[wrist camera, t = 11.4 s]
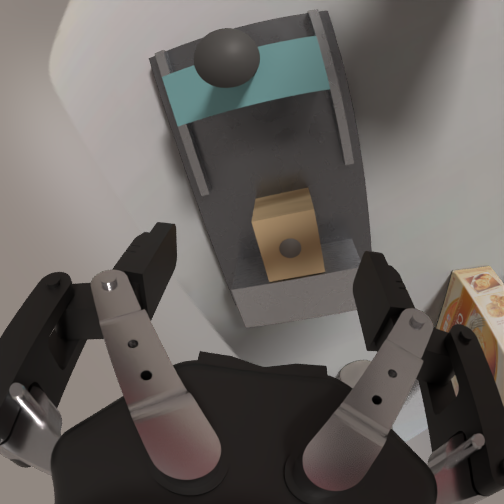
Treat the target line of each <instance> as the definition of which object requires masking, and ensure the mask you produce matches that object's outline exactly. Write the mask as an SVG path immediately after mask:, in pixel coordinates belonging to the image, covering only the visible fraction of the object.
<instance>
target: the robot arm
mask: <svg viewBox="0 0 504 504" xmlns="http://www.w3.org/2000/svg"><path fill="white" fill-rule="evenodd" d="M176 261H177V244H176V226H175V224H170V223H161V222H157V223H156V225H155V226H154V227H153V229H152V230H151V232H150V233H148V232H144V233H142V234H141V235H139V236H137V237H136V238H135V239H134V240H133V242H132V243H131V244H130V246H129V247H128V248H127V250H126V252H124V254H123V255H122V257H121V258H120V260H119V261H118V262H117V264H116V265H115V266H114V268H113V269H112V270H106V271H102V272H100V273H99V274H97V275H96V276H94V278H93V279H92V281H91V283H80V284H72V281H71V278H70V276H69V275H68V274H66V273H63V272H55V273H51V274H49V275H47V276H45V277H44V278H42V279H41V281H40V282H39V283H38V284H37V286H36V287H35V288H34V290H33V291H32V292H31V294H30V295H29V296H28V298H27V299H26V301H25V302H24V303H23V305H22V306H21V308H20V309H19V310H18V312H17V313H16V315H15V316H14V318H13V319H12V321H11V322H10V324H9V325H8V327H7V328H6V330H5V331H4V333H3V335H2V336H1V338H0V454H1V455H3V456H4V457H6V458H8V459H10V460H11V461H13V462H14V463H16V464H17V465H19V466H21V467H31V466H32V467H34V468H36V469H38V470H40V471H42V472H45V473H47V474H49V475H51V476H52V480H53V485H54V492H55V493H54V494H55V504H474V503H476V502H478V501H480V500H482V499H484V498H486V497H488V496H490V495H492V494H494V493H496V492H498V491H500V490H502V489H504V406H503V403H502V400H501V397H500V394H499V391H498V388H497V385H496V383H495V380H494V377H493V375H492V372H491V369H490V367H489V364H488V362H487V359H486V357H485V355H484V352H483V350H482V348H481V345H480V343H479V341H478V339H477V337H476V335H475V333H474V332H473V331H472V330H471V329H470V328H468V327H467V326H464V325H461V324H455V325H453V326H452V328H451V329H450V331H449V332H445V331H442V330H439V329H436V328H433V323H432V321H431V319H430V318H429V317H428V316H427V315H426V314H425V313H424V312H422V311H420V310H418V309H415V307H414V305H413V302H412V300H411V298H410V296H409V294H408V291H407V290H406V287H405V285H404V283H403V281H402V279H401V277H400V275H399V273H398V272H397V271H396V270H395V269H394V268H393V267H392V266H389V265H388V263H387V261H386V259H385V257H384V255H383V254H382V253H378V252H372V251H365V252H364V254H363V256H362V259H361V262H360V265H359V267H358V270H357V273H356V276H355V278H354V282H353V296H354V300H355V304H356V307H357V311H358V315H359V319H360V323H361V327H362V332H363V336H364V340H365V344H366V349H367V351H377V354H376V355H375V357H374V358H373V360H372V361H371V363H370V364H369V366H368V367H367V369H366V370H365V372H364V373H363V375H362V376H361V378H360V379H359V380H358V382H357V383H356V385H355V386H354V387H353V389H352V388H351V387H350V386H349V385H347V384H346V383H344V382H342V381H340V380H338V379H336V378H334V377H331V376H328V375H327V367H326V366H320V365H307V364H289V365H281V366H272V367H262V366H258V365H255V364H252V363H249V362H246V361H244V360H241V359H238V358H235V357H232V356H227V355H220V354H214V353H208V352H201V351H200V353H199V357H198V360H193V361H185V362H182V363H178V364H175V365H172V363H171V361H170V359H169V357H168V355H167V353H166V351H165V349H164V347H163V345H162V344H161V342H160V340H159V338H158V335H157V333H156V331H155V329H154V327H153V325H152V323H151V320H152V317H153V315H154V313H155V311H156V308H157V306H158V304H159V302H160V300H161V297H162V295H163V293H164V291H165V289H166V286H167V284H168V282H169V280H170V278H171V276H172V274H173V272H174V269H175V266H176ZM53 329H54V330H53ZM52 331H53V332H52ZM50 334H51V335H50ZM49 336H50V337H49ZM87 339H104V340H105V344H106V347H107V350H108V353H109V356H110V359H111V362H112V365H113V368H114V371H115V374H116V377H117V380H118V382H119V385H120V388H121V390H122V393H123V397H121V398H119V399H118V400H116V401H114V402H113V403H111V404H110V405H108V406H106V407H105V408H103V409H102V410H100V411H98V412H97V413H95V414H93V415H92V416H90V417H89V418H87V419H85V420H84V421H82V422H80V423H79V424H77V425H75V426H74V427H72V428H70V429H69V430H67V431H66V432H65V433H64V434H63V435H62V436H61V426H62V418H61V415H60V413H59V411H58V410H57V407H58V405H59V402H60V400H61V397H62V395H63V392H64V390H65V387H66V385H67V383H68V381H69V378H70V376H71V373H72V371H73V369H74V367H75V365H76V362H77V360H78V358H79V356H80V354H81V352H82V349H83V347H84V345H85V343H86V341H87ZM454 376H456V379H457V382H458V385H459V391H458V394H457V396H456V395H455V391H454V388H453V384H452V381H451V379H452V378H453V377H454ZM416 379H418V380H419V385H420V389H421V393H422V398H423V403H424V408H425V413H426V418H427V423H428V429H429V435H430V441H431V447H432V454H431V455H430V457H429V460H428V465H427V464H426V463H425V462H424V461H423V460H422V459H421V458H420V457H419V456H418V455H417V454H416V453H415V452H414V451H413V450H412V449H411V448H410V447H409V446H408V445H407V444H406V443H405V442H404V441H403V440H402V439H401V438H400V437H399V436H398V435H397V434H396V433H395V432H394V431H393V430H392V429H391V427H392V425H393V424H394V422H395V420H396V418H397V416H398V414H399V412H400V411H401V409H402V407H403V405H404V403H405V401H406V399H407V397H408V395H409V393H410V391H411V388H412V386H413V384H414V382H415V380H416Z"/></svg>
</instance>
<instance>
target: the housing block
mask: <svg viewBox="0 0 504 504" xmlns="http://www.w3.org/2000/svg"><path fill="white" fill-rule="evenodd" d="M252 226H253V229H254V232H255V236H256V239H257V242H258V246H259V249H260V252H261V256H262V259H263V263H264V266H265V269H266V273H267V276H268V280H269V282H272V281H277V280H283V279H289V278H294V277H300V276H305V275H311V274H316V273H322V272H325V268H324V262H323V256H322V250H321V244H320V238H319V233H318V227H317V222H316V216H315V211H314V207H313V203H312V200H311V196H310V192H309V189H308V188H304V189H299V190H294V191H289V192H284V193H280V194H275V195H270V196H266V197H261V198H256V199H255V205H254V210H253V216H252Z"/></svg>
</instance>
